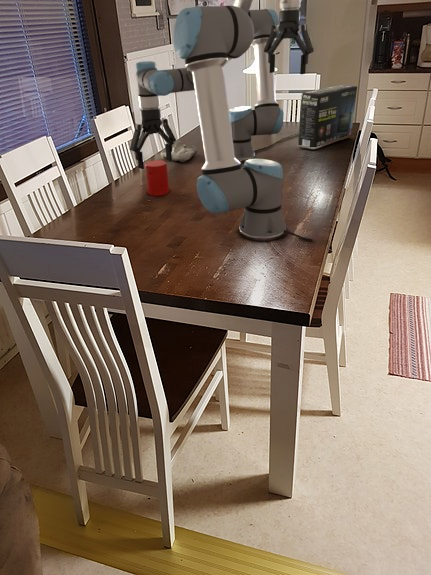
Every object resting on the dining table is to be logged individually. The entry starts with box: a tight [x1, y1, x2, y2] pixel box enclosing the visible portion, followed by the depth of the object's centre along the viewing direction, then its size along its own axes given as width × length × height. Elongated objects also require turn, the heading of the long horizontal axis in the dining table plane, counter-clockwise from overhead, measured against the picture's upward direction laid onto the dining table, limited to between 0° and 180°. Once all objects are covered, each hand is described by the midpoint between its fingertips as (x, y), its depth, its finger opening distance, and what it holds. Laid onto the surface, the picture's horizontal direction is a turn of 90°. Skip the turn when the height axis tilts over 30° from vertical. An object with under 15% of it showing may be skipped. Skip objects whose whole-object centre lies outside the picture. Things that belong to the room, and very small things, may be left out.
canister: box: [144, 160, 170, 197], centre depth 184 cm, size 8×8×12 cm
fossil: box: [160, 142, 199, 163], centre depth 229 cm, size 18×11×15 cm
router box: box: [297, 84, 358, 151], centre depth 238 cm, size 36×11×27 cm, turn 134°
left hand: (287, 73), depth 178 cm, fingers open, 13 cm apart
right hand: (155, 164), depth 182 cm, fingers open, 13 cm apart
